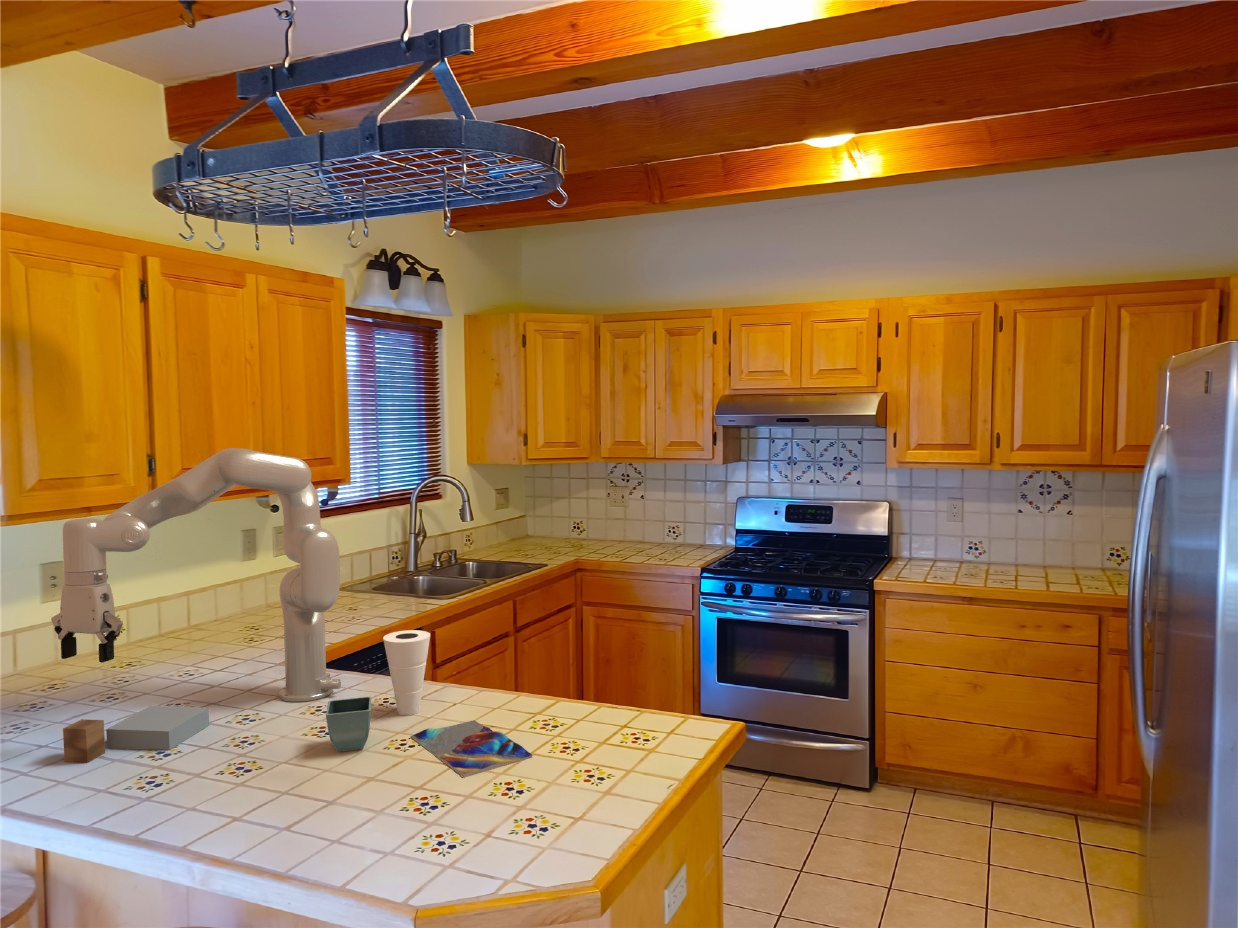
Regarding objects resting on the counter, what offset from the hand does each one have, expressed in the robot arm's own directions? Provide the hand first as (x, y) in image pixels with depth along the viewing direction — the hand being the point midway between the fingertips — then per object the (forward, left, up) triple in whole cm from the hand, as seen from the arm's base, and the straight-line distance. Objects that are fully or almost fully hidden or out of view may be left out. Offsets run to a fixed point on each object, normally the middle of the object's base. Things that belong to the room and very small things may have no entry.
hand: (87, 658), depth 175 cm
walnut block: (-3, +5, -19) cm, 20 cm away
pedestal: (-11, -7, -19) cm, 23 cm away
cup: (-60, -26, -19) cm, 68 cm away
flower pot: (-55, -5, -19) cm, 58 cm away
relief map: (-80, -7, -20) cm, 82 cm away
